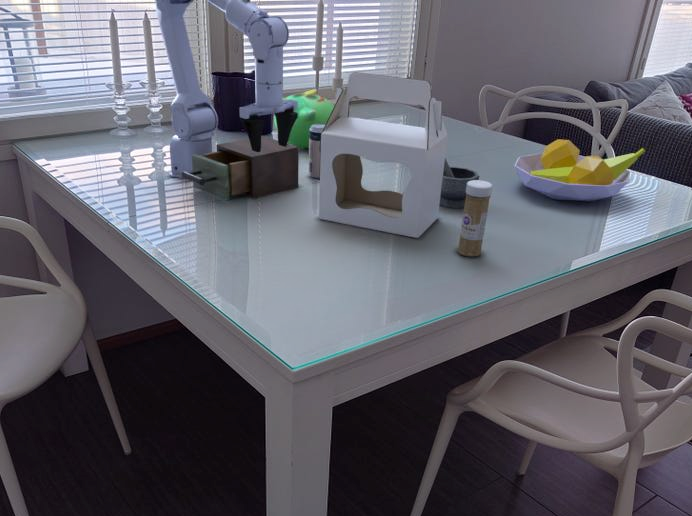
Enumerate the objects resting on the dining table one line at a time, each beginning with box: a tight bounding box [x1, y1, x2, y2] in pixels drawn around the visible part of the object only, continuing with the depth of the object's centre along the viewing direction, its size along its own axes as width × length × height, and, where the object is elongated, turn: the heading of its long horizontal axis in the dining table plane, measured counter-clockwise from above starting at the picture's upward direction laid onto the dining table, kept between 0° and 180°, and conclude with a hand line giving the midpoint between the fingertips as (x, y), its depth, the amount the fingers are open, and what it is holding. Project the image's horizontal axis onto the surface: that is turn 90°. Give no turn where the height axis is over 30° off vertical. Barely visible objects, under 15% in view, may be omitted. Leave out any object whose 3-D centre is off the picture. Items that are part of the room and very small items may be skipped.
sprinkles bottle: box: [456, 179, 493, 258], centre depth 128 cm, size 5×5×14 cm
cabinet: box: [215, 135, 300, 199], centre depth 159 cm, size 14×13×9 cm
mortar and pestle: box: [439, 157, 480, 209], centre depth 153 cm, size 11×9×12 cm
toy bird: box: [273, 89, 338, 149], centre depth 188 cm, size 18×17×15 cm
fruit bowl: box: [514, 138, 646, 202], centre depth 163 cm, size 28×27×11 cm
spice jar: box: [308, 124, 325, 180], centre depth 166 cm, size 5×5×12 cm
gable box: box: [318, 71, 449, 239], centre depth 138 cm, size 22×13×28 cm, turn 66°
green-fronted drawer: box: [182, 150, 251, 201], centre depth 152 cm, size 17×11×7 cm, turn 135°
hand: (269, 148), depth 151 cm, fingers open, 7 cm apart
